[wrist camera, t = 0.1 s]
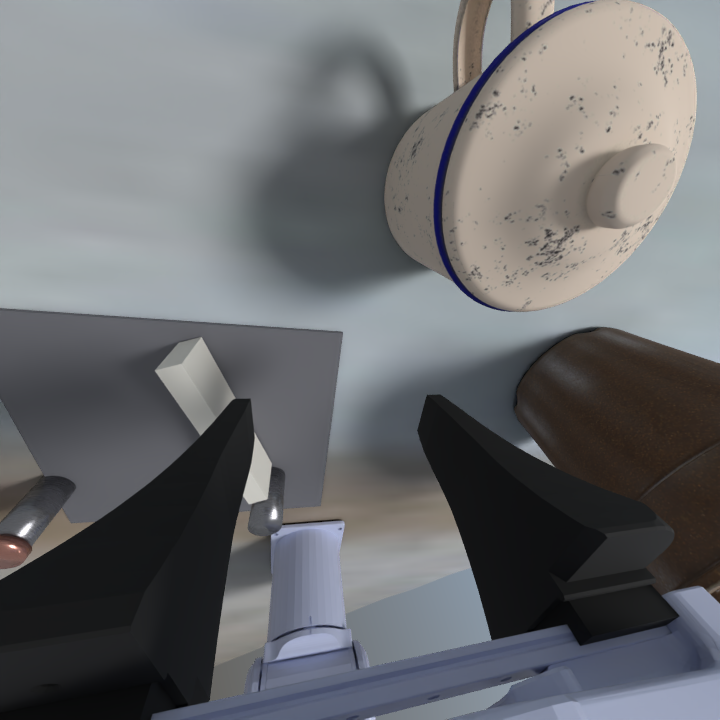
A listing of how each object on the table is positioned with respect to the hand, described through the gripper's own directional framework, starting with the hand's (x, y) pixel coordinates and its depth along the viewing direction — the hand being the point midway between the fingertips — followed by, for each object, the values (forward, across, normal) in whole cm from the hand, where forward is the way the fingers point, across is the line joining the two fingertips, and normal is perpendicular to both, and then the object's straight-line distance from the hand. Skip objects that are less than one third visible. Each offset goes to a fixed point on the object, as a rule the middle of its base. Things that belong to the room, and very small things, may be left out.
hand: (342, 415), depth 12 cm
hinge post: (+10, +4, +15) cm, 19 cm away
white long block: (+9, +7, +7) cm, 14 cm away
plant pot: (+10, -24, +6) cm, 27 cm away
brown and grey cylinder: (+10, +21, +15) cm, 27 cm away
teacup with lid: (+10, -7, -10) cm, 16 cm away
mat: (+10, +10, +10) cm, 17 cm away
